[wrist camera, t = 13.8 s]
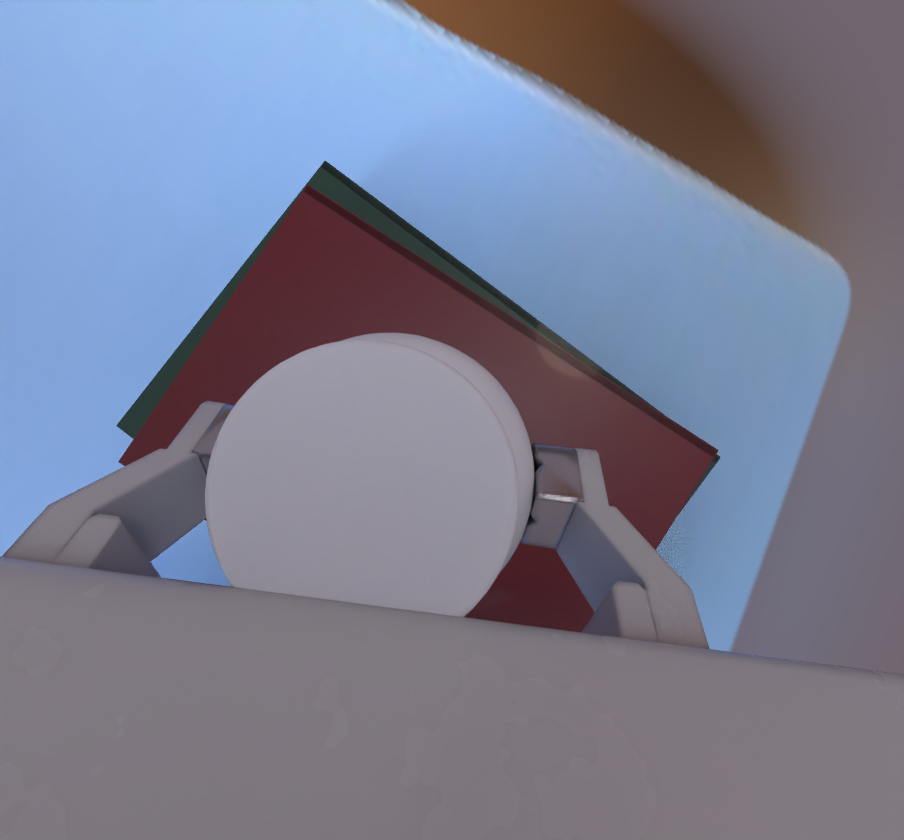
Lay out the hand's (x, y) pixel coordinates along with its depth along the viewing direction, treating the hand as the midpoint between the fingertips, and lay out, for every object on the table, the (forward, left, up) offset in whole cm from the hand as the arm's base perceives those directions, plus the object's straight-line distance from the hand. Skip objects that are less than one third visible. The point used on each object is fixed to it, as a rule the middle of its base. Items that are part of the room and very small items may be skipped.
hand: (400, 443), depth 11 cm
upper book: (0, 0, -9) cm, 9 cm away
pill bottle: (0, 0, -7) cm, 7 cm away
